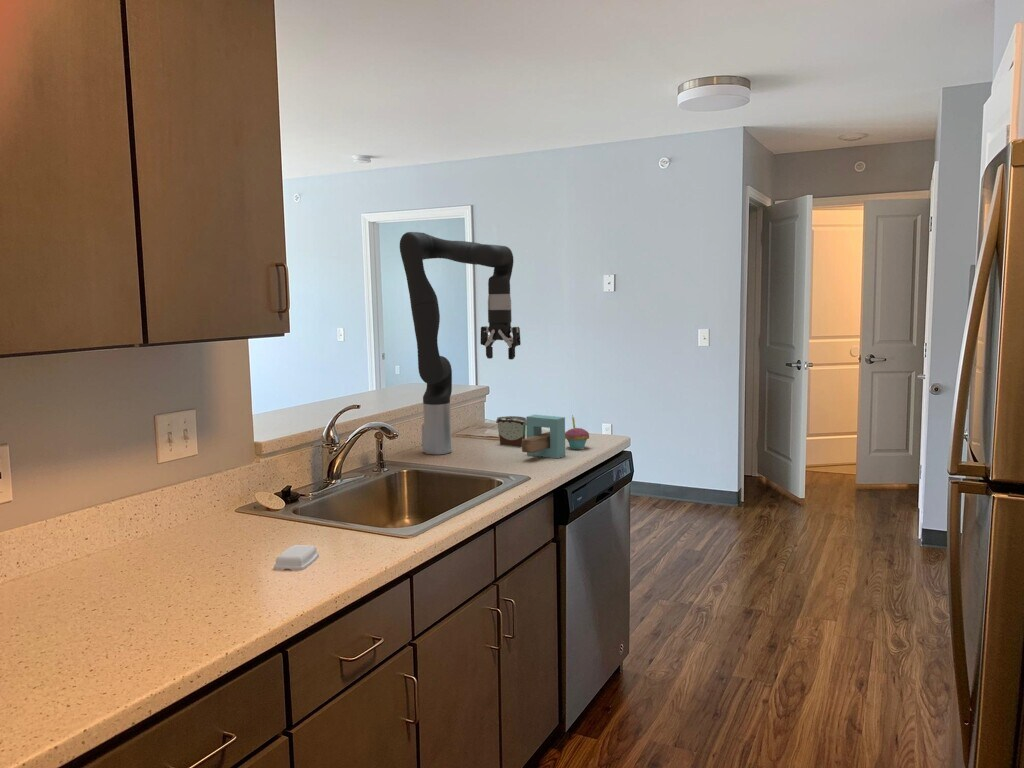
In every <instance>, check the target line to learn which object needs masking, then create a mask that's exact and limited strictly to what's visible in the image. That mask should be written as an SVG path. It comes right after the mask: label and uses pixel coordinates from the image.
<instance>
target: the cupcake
mask: <svg viewBox="0 0 1024 768" xmlns="http://www.w3.org/2000/svg"><path fill="white" fill-rule="evenodd" d="M571 419H572V426H573V427H572V428H570V429H568V430H566V431H565V440H567V442H568V444H569V448H570V449H571V448H572V449H571V450H575V449H579V450H583V448H585V446H586V443H587V440H588V439H590V433H589V431H588V430H586V429H584V428H581V427H576V424H575V417H574V415H573V414H572V417H571Z"/></svg>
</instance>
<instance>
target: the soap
mask: <svg viewBox="0 0 1024 768" xmlns="http://www.w3.org/2000/svg"><path fill="white" fill-rule="evenodd" d="M319 557H320V553H319V552H318V551H317V547H316V546H315V545H306V544H303V545H302V544H297V545H295V544H293V545H291V546H290V547H288V548H286V549H285V550H284V551H283V552H282V553H280V554H279V555H278V556H276V559H275V564H274V565H273V569H274V570H278V571H285V570H290V571H304V570H306V569H307V568H308V567H310V566H311V565H312V564H313V563H315V562H316V561H317V559H319Z"/></svg>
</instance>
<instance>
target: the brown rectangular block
mask: <svg viewBox="0 0 1024 768" xmlns="http://www.w3.org/2000/svg"><path fill="white" fill-rule="evenodd" d="M547 448H550V431H547V432H544V433H542V434H540V435H536V436H533V437H529V438H527V437H525V439H523V440H522V448H521V452H522V453H526V454H527V453H534V452H537V451H541V450H544V449H547Z"/></svg>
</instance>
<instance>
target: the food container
mask: <svg viewBox="0 0 1024 768" xmlns="http://www.w3.org/2000/svg"><path fill="white" fill-rule="evenodd" d="M495 423H496V424H497V429H498V438H499V446H502V445H504V447H511V446H513V447H514V448H520V447H522V440H523V439H526V431H527V421H526V416H525V417H524V416H519V415H518V416H512V415H511V416H510V415H509V416H499V417H497V418H496V420H495ZM513 447H512V448H513Z"/></svg>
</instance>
